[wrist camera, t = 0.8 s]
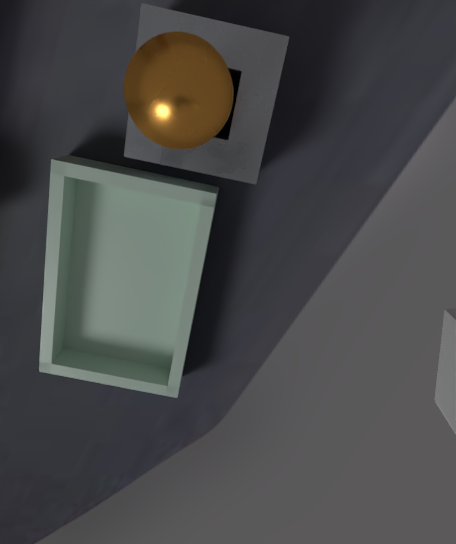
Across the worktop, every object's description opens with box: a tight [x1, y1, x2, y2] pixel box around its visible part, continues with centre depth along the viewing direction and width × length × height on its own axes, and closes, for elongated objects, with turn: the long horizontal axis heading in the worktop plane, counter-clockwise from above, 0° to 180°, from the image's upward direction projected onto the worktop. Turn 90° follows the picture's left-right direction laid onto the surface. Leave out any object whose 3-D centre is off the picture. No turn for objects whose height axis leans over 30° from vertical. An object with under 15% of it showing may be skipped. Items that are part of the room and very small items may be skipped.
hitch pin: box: [124, 32, 234, 150], centre depth 25 cm, size 4×4×16 cm
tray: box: [39, 155, 219, 398], centre depth 36 cm, size 12×18×3 cm, turn 168°
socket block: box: [124, 3, 289, 184], centre depth 30 cm, size 9×9×5 cm
